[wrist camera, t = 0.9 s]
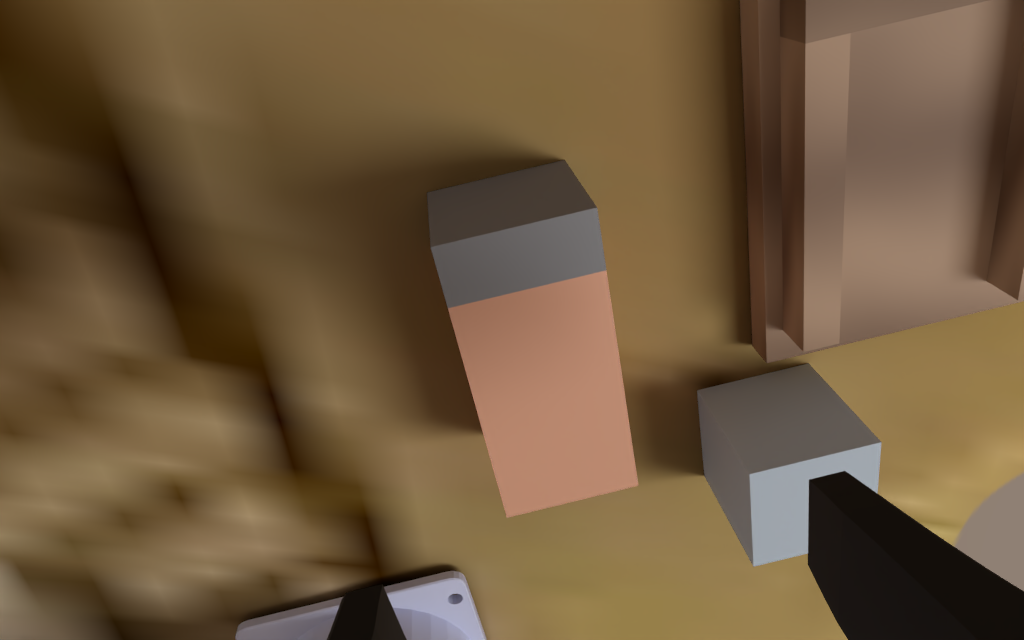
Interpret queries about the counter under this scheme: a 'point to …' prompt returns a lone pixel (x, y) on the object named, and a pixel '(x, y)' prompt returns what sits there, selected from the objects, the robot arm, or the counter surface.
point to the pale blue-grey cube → (779, 454)
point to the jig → (880, 165)
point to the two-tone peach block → (536, 333)
